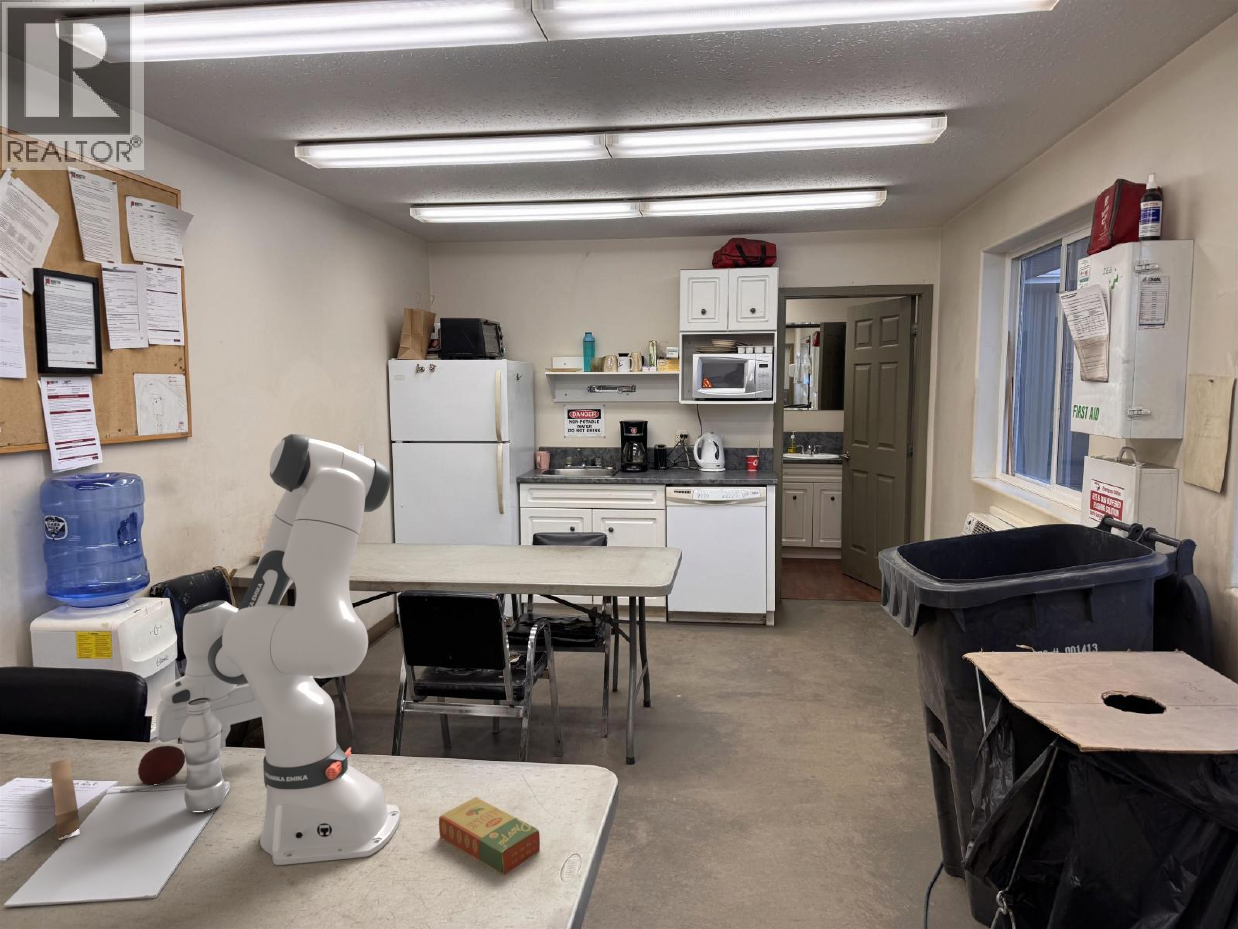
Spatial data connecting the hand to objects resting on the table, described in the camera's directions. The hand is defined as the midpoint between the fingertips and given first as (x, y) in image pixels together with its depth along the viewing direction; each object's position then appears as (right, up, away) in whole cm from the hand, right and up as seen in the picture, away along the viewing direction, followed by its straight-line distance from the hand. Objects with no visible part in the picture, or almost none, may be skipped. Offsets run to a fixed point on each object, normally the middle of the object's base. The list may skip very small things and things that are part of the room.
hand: (217, 748), depth 153 cm
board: (-19, -5, -15) cm, 25 cm away
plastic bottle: (+7, -5, -16) cm, 18 cm away
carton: (+60, -6, -29) cm, 67 cm away
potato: (-7, -4, -6) cm, 10 cm away
